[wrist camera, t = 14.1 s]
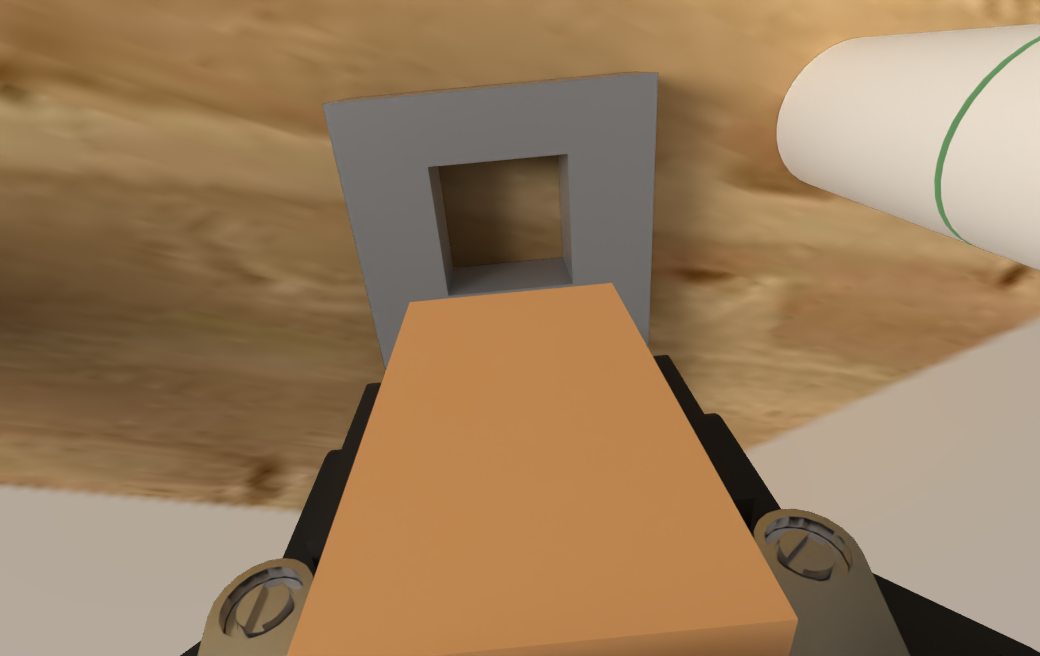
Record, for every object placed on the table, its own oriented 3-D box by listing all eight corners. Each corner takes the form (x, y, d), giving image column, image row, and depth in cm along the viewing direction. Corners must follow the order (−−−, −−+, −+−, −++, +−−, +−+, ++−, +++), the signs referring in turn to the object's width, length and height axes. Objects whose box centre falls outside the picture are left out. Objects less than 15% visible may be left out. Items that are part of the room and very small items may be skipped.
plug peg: (440, 458, 14) (385, 880, 7) (409, 301, 12) (280, 671, 5) (612, 442, 14) (740, 843, 7) (611, 283, 12) (798, 619, 5)
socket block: (417, 428, 34) (409, 471, 30) (346, 98, 25) (322, 104, 21) (628, 407, 34) (644, 447, 31) (634, 71, 25) (658, 72, 22)
